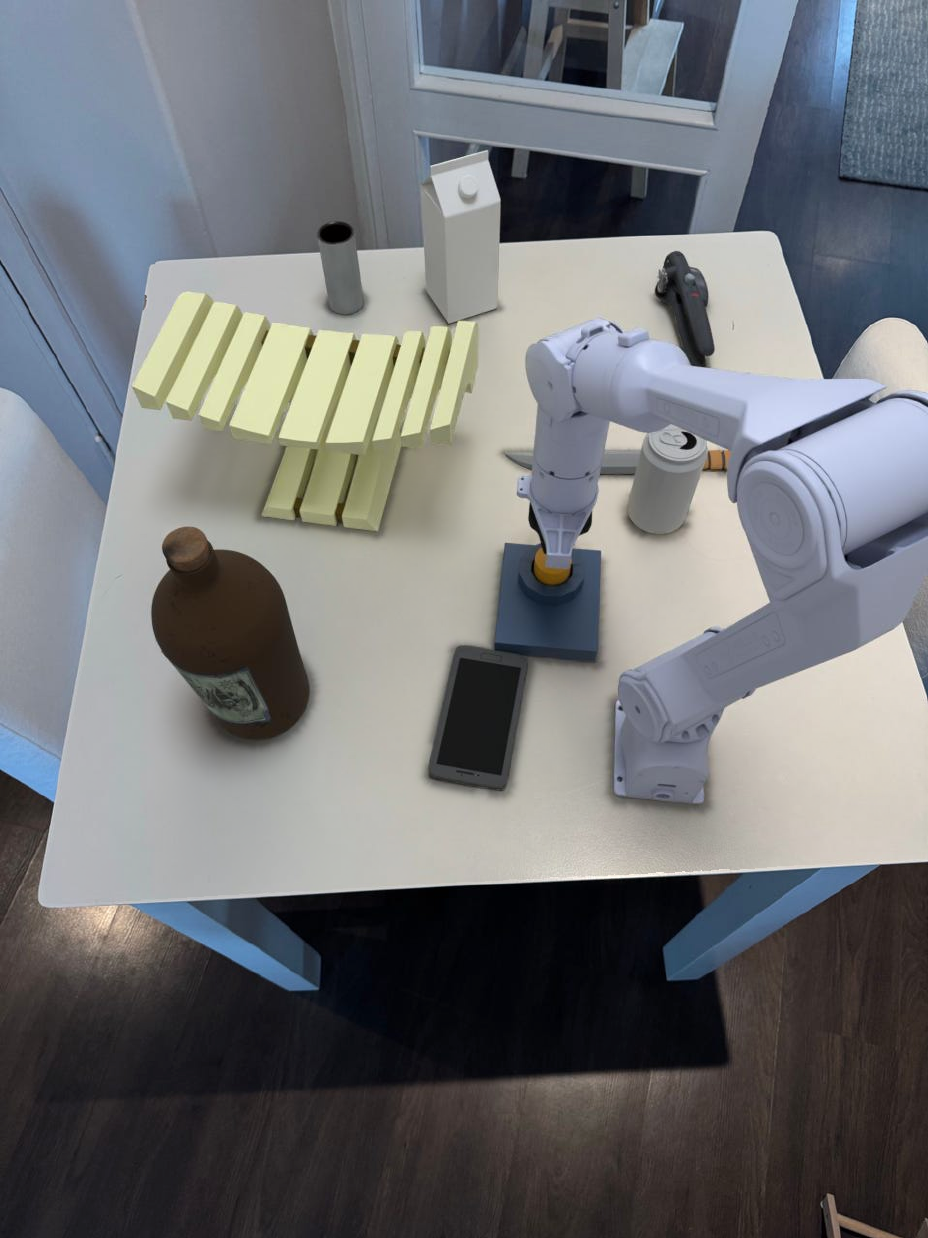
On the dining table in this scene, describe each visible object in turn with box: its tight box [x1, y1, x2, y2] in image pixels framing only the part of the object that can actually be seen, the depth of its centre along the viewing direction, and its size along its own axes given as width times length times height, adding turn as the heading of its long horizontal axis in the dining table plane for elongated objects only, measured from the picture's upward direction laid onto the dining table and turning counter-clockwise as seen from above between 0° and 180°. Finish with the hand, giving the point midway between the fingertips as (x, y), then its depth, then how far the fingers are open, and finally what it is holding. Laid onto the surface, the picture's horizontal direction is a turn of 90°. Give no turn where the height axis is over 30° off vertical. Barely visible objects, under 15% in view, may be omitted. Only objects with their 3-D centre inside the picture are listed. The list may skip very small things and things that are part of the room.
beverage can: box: [627, 424, 709, 535], centre depth 86 cm, size 6×6×12 cm
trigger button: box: [534, 548, 572, 586], centre depth 83 cm, size 4×4×2 cm
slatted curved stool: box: [131, 291, 479, 533], centre depth 88 cm, size 30×16×18 cm, turn 80°
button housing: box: [493, 542, 602, 663], centre depth 84 cm, size 12×10×4 cm
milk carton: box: [419, 149, 501, 324], centre depth 102 cm, size 7×7×19 cm
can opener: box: [654, 250, 716, 368], centre depth 104 cm, size 18×7×6 cm, turn 3°
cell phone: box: [428, 644, 529, 791], centre depth 79 cm, size 7×14×1 cm, turn 169°
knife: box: [504, 449, 731, 475], centre depth 95 cm, size 30×1×5 cm
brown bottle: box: [150, 526, 310, 740], centre depth 70 cm, size 11×11×25 cm
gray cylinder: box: [316, 220, 365, 315], centre depth 105 cm, size 4×4×10 cm
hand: (554, 549), depth 80 cm, fingers closed
